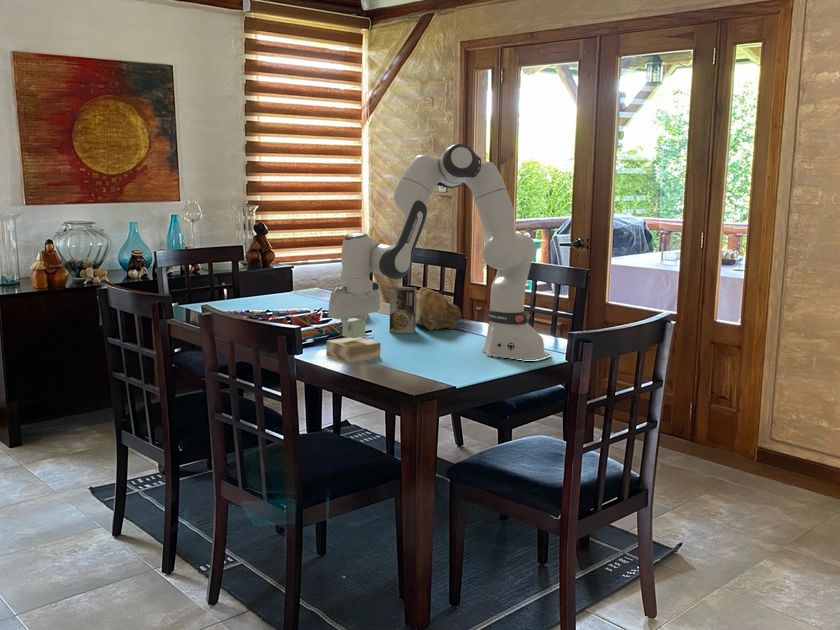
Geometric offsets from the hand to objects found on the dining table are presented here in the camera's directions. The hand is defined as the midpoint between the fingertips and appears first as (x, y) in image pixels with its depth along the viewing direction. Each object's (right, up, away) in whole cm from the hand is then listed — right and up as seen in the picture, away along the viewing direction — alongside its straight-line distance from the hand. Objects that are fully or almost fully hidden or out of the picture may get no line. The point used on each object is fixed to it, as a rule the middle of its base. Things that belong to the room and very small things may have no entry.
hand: (354, 329), depth 257 cm
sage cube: (0, -2, 0) cm, 2 cm away
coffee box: (+14, -2, +42) cm, 44 cm away
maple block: (0, -9, +2) cm, 9 cm away
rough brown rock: (+27, 0, +52) cm, 58 cm away
